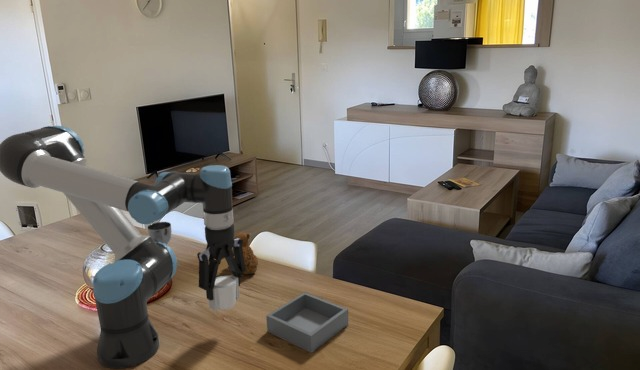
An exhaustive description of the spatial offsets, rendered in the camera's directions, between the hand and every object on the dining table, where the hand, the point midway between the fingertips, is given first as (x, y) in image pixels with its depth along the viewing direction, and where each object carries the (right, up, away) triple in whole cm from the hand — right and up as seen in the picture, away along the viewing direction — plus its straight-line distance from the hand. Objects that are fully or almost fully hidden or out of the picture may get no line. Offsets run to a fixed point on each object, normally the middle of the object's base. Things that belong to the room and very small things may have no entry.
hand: (224, 303), depth 134 cm
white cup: (0, -1, 0) cm, 1 cm away
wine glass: (-31, +3, +44) cm, 54 cm away
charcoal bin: (+23, -8, +2) cm, 24 cm away
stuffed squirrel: (0, +2, +38) cm, 38 cm away
